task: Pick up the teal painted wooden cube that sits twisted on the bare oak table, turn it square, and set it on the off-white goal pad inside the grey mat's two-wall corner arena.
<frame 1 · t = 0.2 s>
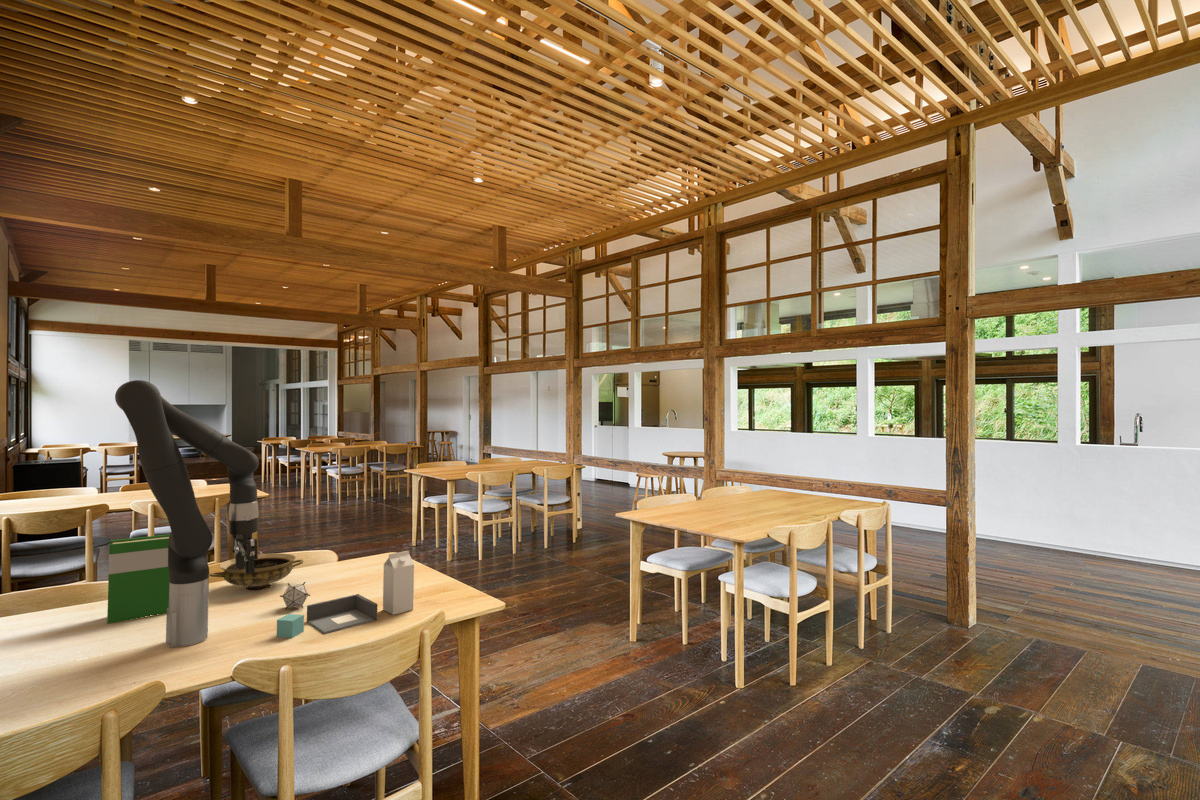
hand: (245, 570, 172), 17 cm above the table, tool pointing down, fingers open, 8 cm apart
hardback book: (143, 614, 183), on the table
milk carton: (398, 610, 189), on the table
ceramic bowl: (258, 588, 211), on the table
game die: (295, 608, 190), on the table
cube: (290, 634, 168), on the table
arena: (342, 620, 179), on the table
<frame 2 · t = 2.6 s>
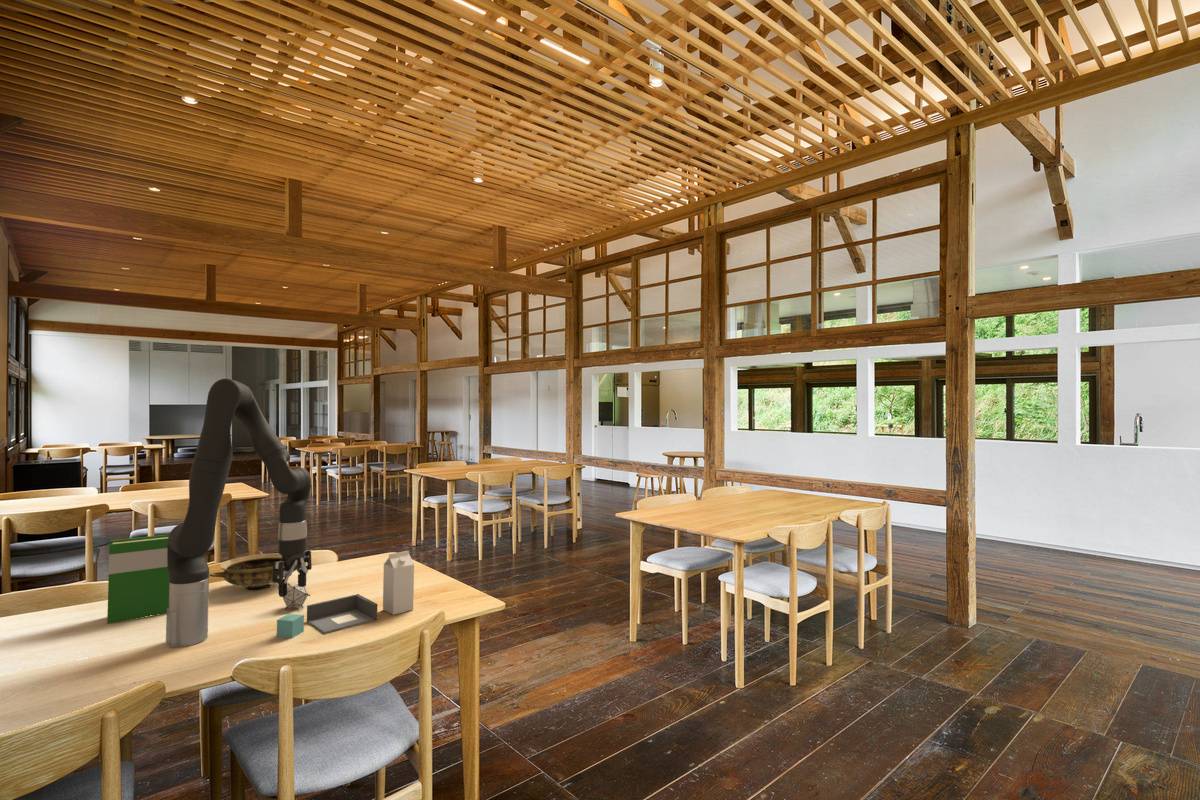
hand: (292, 591, 169), 12 cm above the table, tool pointing down, fingers open, 8 cm apart
nothing on the table moved.
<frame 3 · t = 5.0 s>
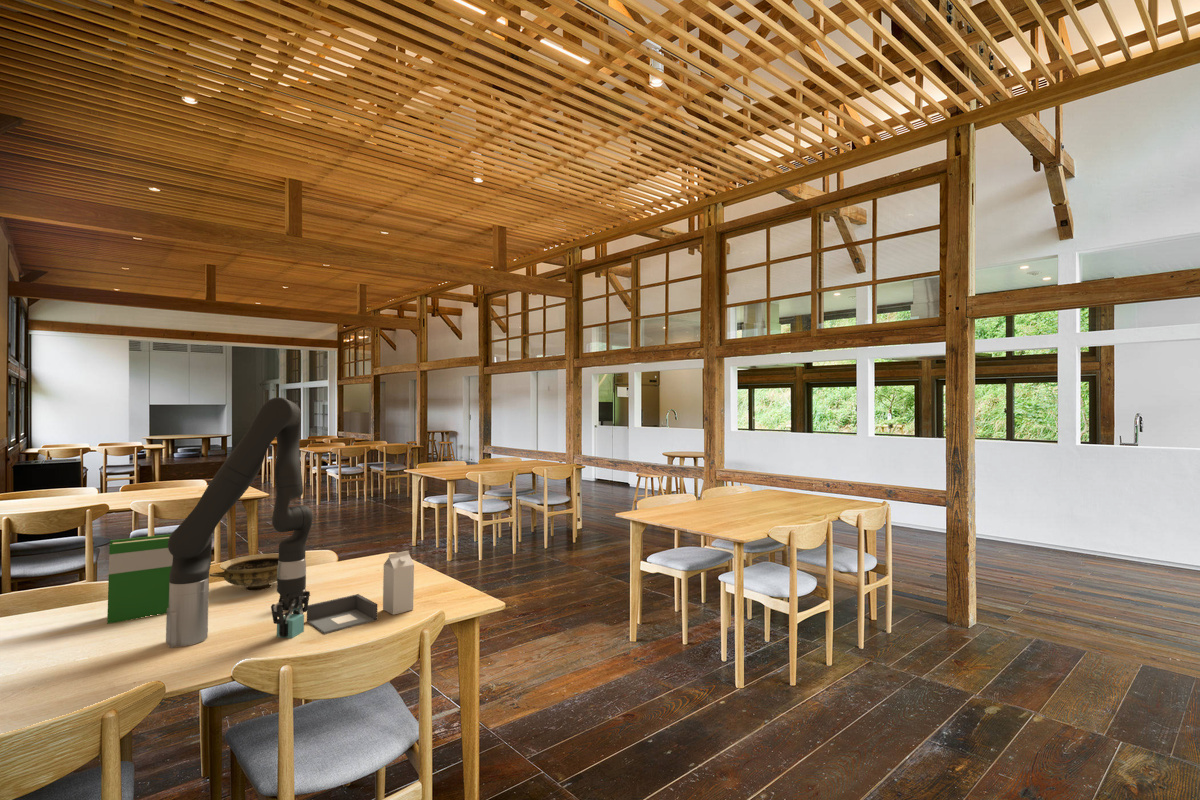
hand: (290, 632, 168), 0 cm above the table, tool pointing down, fingers closed on cube, 5 cm apart
cube: (290, 634, 168), on the table, touching gripper
everything else where it was.
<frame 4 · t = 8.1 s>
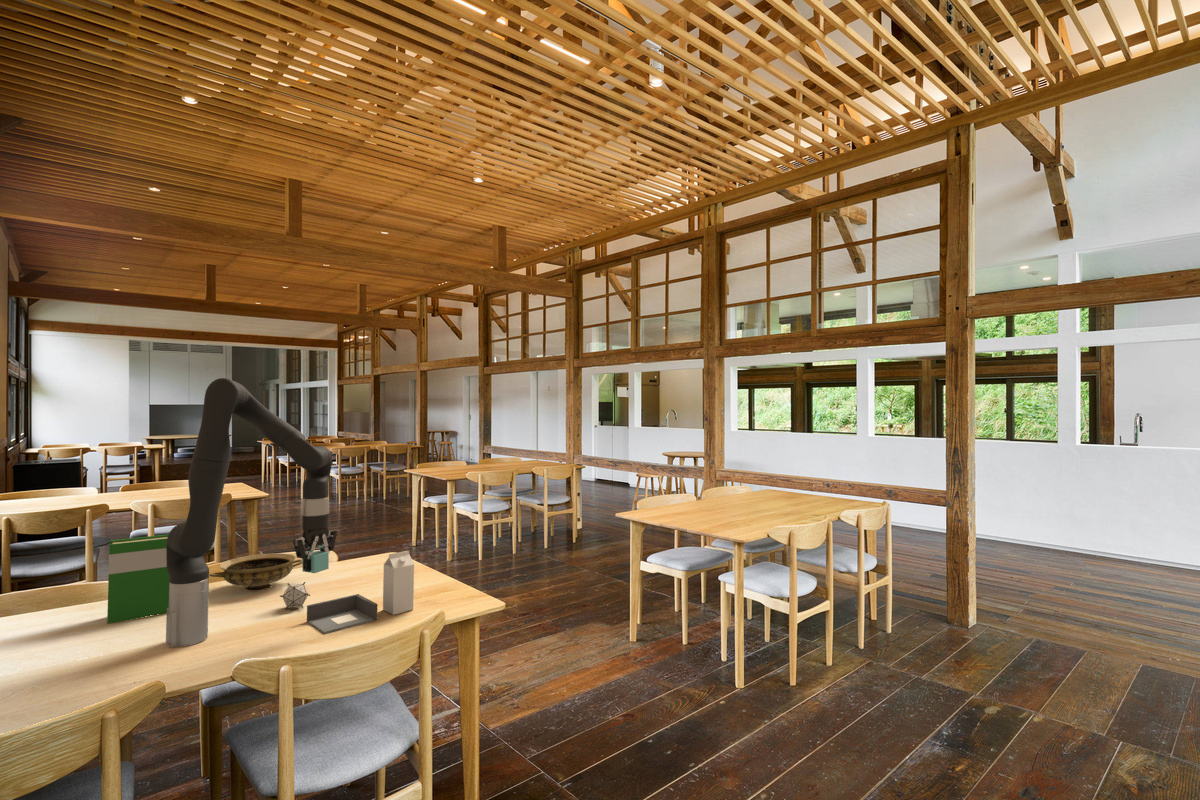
hand: (315, 568, 173), 18 cm above the table, tool pointing down, fingers closed on cube, 5 cm apart
cube: (315, 570, 173), point 17 cm above the table, touching gripper
everything else where it was.
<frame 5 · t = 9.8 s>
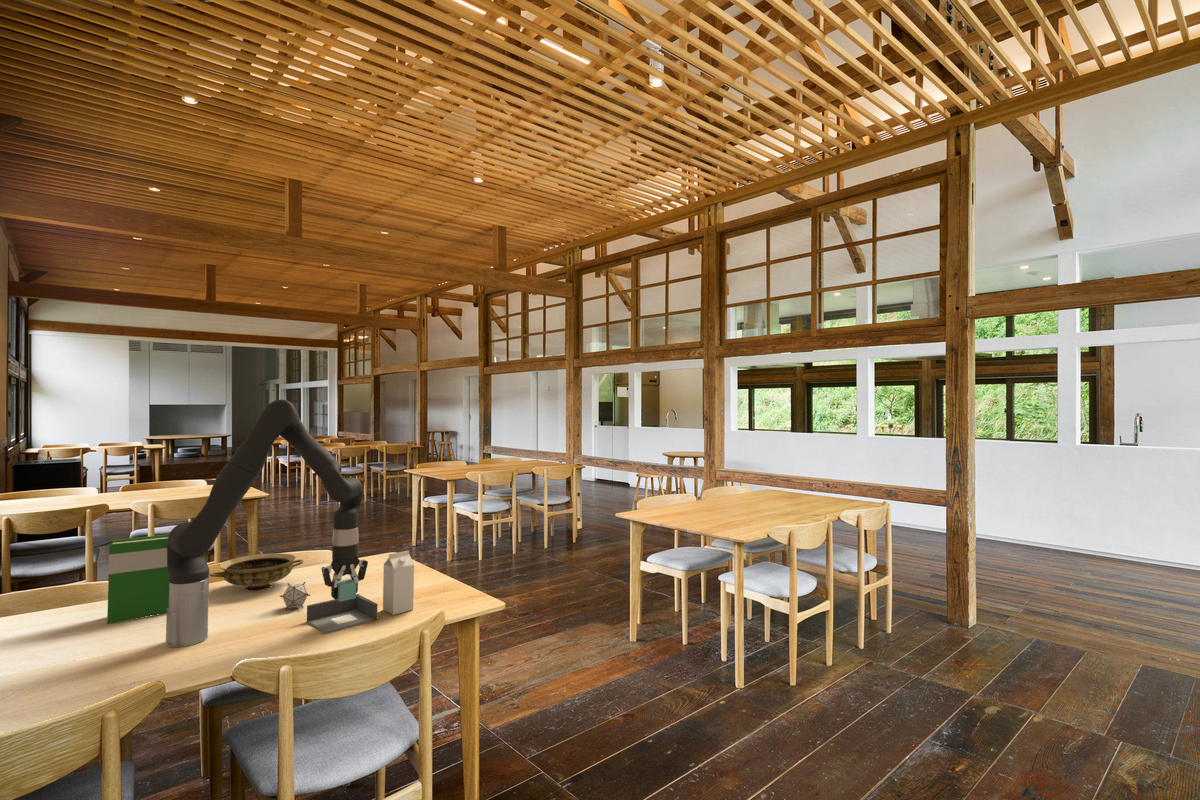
hand: (344, 596, 179), 8 cm above the table, tool pointing down, fingers closed on cube, 5 cm apart
cube: (344, 598, 179), point 7 cm above the table, touching gripper
everything else where it was.
when the fingers open (2 cm above the table, at t = 11.4 s): cube drops 1 cm, resting on arena.
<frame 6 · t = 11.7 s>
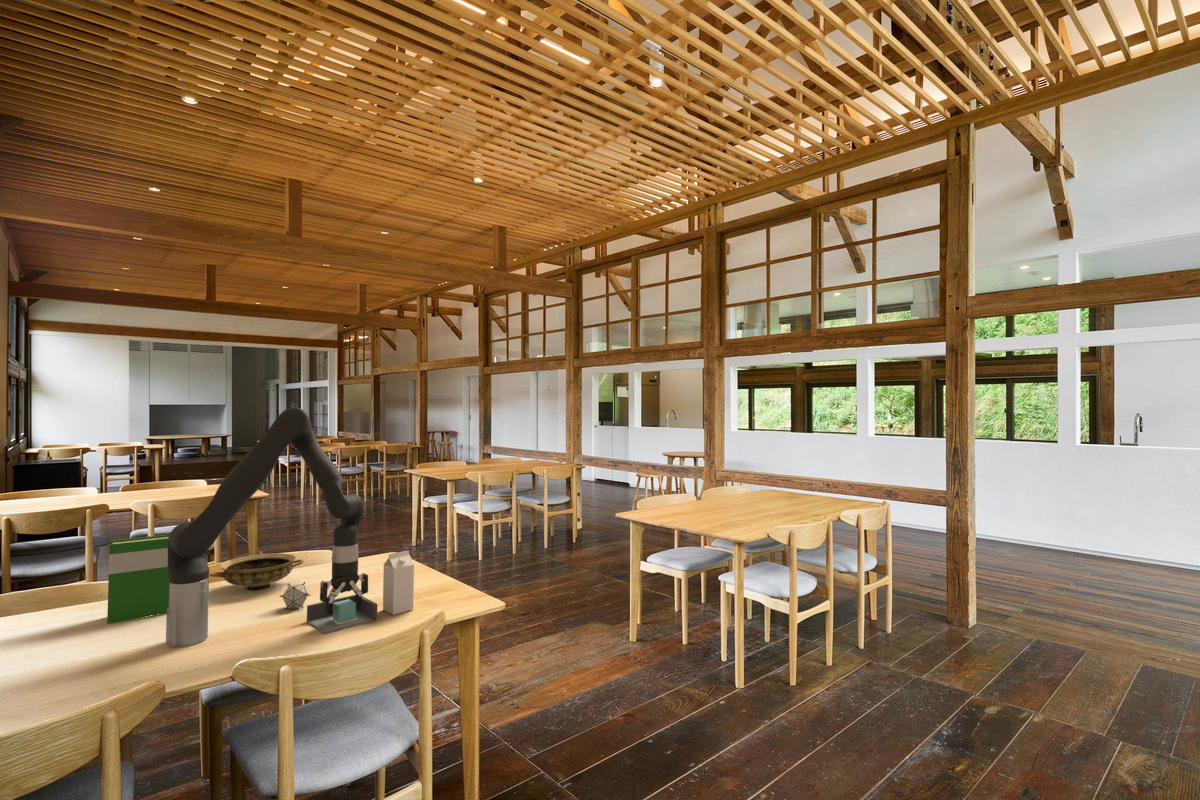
hand: (344, 611, 179), 3 cm above the table, tool pointing down, fingers open, 8 cm apart
cube: (344, 618, 179), point 1 cm above the table, touching arena
everything else where it was.
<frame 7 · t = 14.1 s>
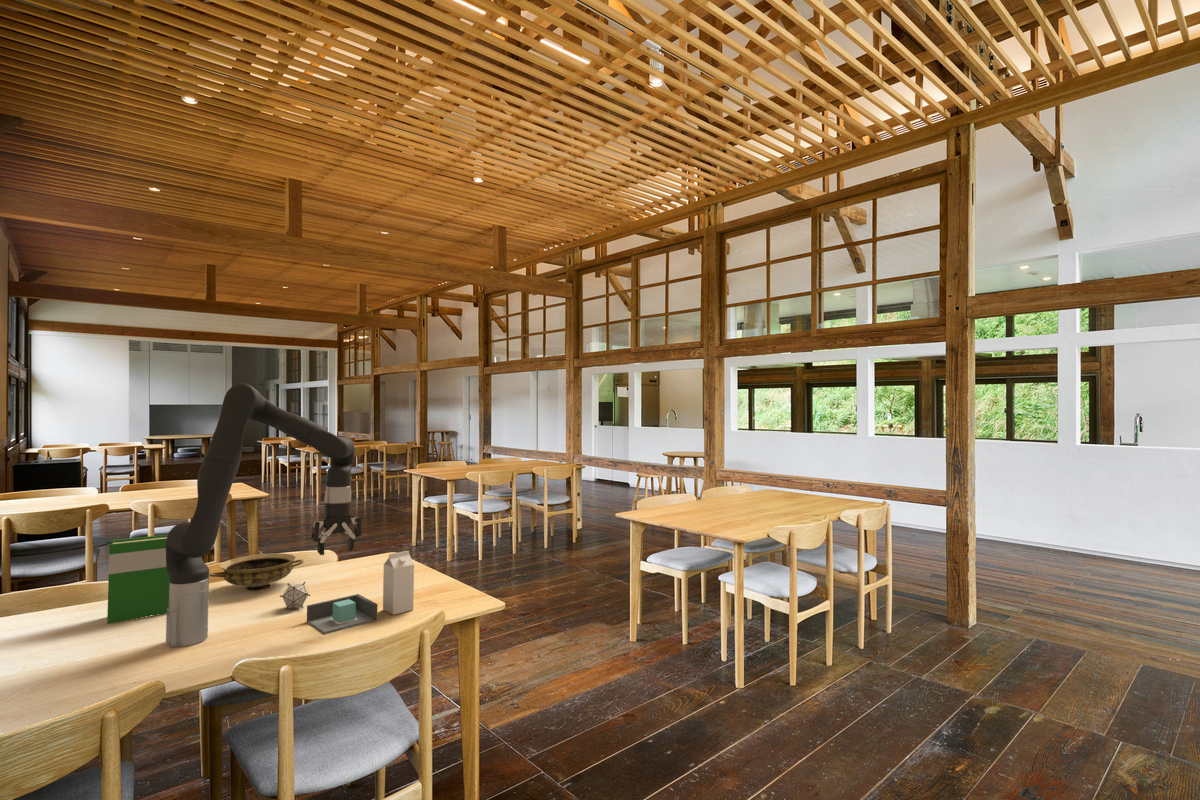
hand: (336, 552, 178), 21 cm above the table, tool pointing down, fingers open, 8 cm apart
nothing on the table moved.
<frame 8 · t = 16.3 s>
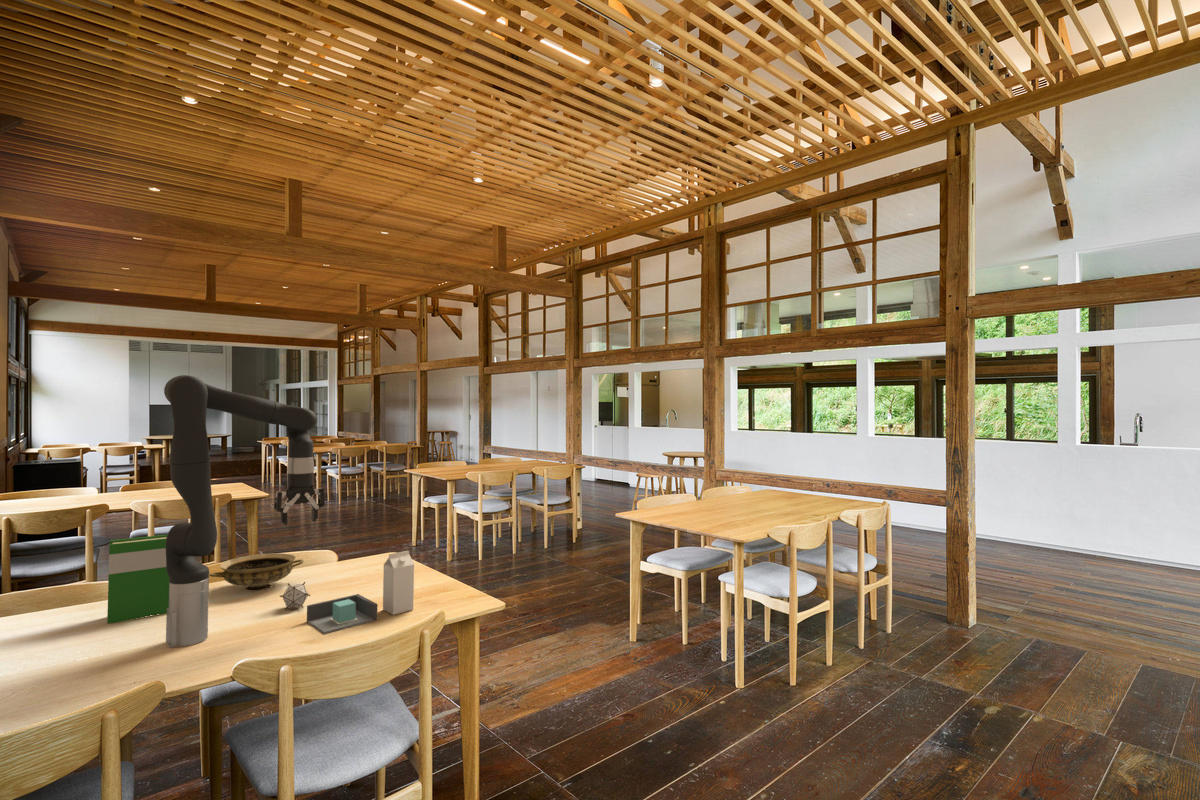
hand: (299, 522, 181), 30 cm above the table, tool pointing down, fingers open, 8 cm apart
nothing on the table moved.
at the end: cube 0.0 cm off-centre on the arena, point 0.7 cm above the arena's base; cube tilted 0°; the gripper is holding nothing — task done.
